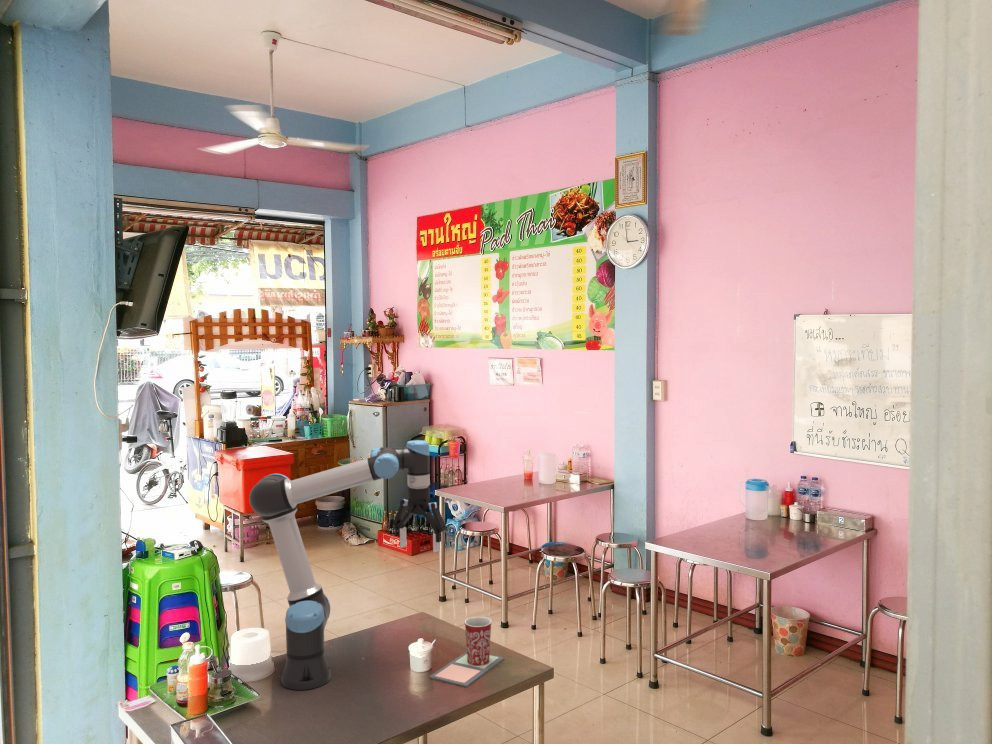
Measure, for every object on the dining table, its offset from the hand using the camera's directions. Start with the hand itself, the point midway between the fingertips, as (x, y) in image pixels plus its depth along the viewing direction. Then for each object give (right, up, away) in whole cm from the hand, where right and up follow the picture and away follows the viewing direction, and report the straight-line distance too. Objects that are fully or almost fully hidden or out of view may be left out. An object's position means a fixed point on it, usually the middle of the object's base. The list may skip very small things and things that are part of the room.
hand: (419, 549), depth 259 cm
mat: (+17, -37, -9) cm, 41 cm away
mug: (+19, -36, -4) cm, 41 cm away
